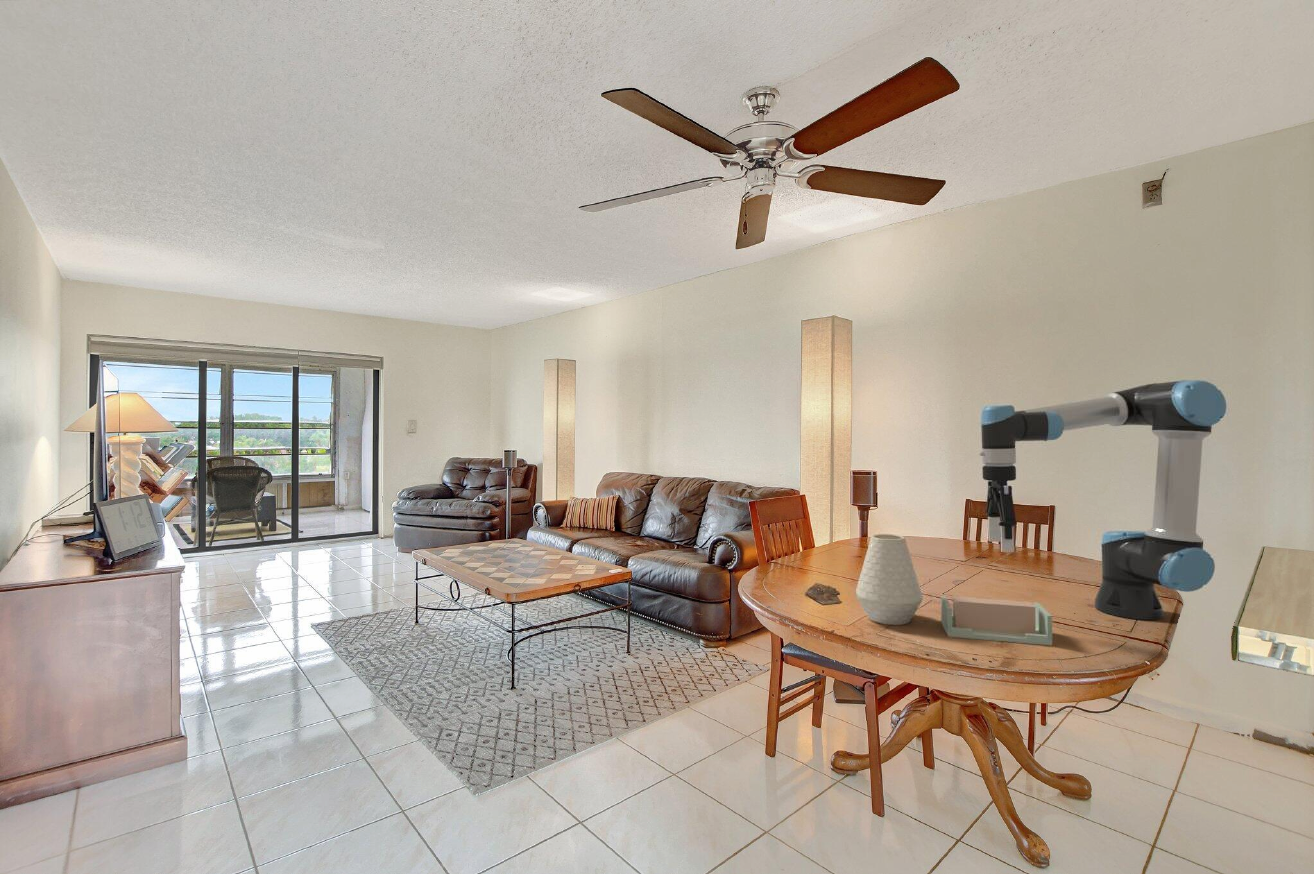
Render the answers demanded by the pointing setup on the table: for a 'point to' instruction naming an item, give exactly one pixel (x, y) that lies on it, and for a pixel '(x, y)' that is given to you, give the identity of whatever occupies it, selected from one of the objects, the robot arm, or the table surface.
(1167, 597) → the table surface
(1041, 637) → the tray
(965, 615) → the pinkish tan rectangular block
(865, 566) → the vase
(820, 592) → the wooden fragment
